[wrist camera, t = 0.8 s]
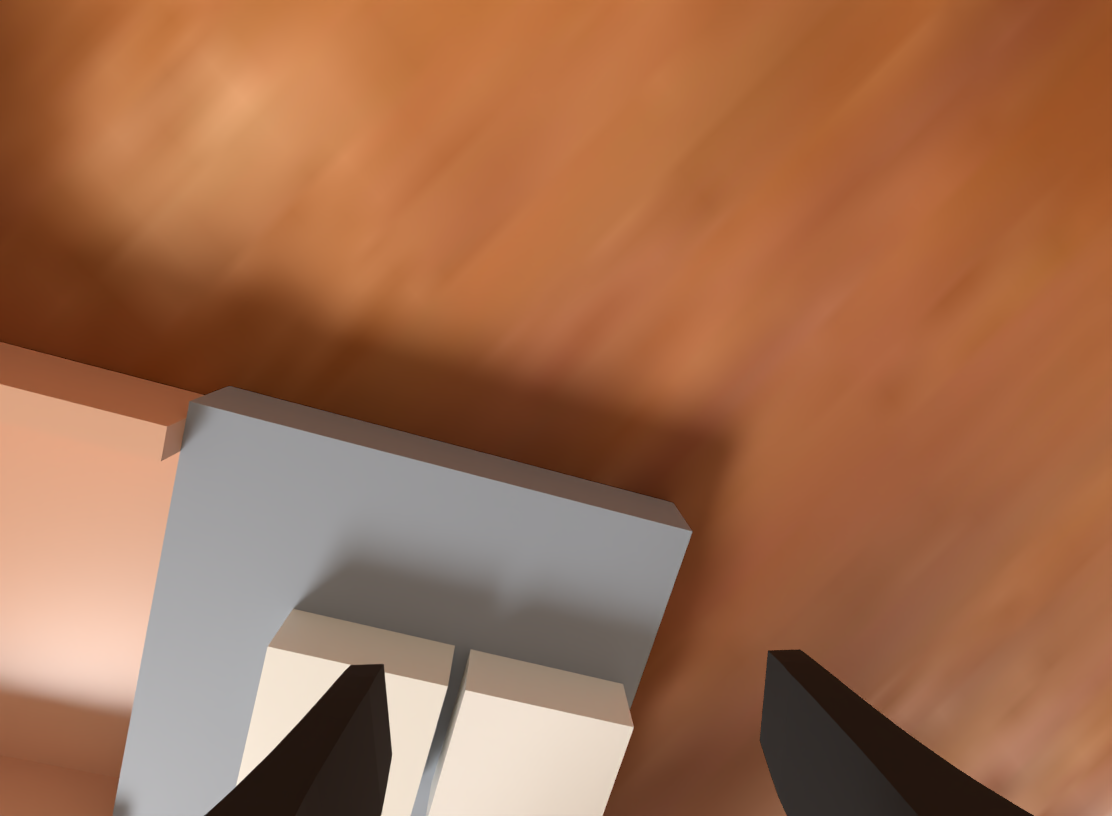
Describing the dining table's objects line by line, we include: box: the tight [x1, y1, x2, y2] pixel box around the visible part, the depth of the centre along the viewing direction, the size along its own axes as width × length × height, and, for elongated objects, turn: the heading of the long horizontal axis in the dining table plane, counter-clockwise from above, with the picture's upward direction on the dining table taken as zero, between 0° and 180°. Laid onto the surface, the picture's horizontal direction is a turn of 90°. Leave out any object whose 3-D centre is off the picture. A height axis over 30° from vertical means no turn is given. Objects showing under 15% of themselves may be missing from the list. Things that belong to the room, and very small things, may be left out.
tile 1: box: [426, 649, 634, 816], centre depth 20 cm, size 5×5×2 cm
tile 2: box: [236, 609, 455, 816], centre depth 19 cm, size 5×5×2 cm
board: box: [112, 386, 693, 816], centre depth 21 cm, size 16×15×2 cm
